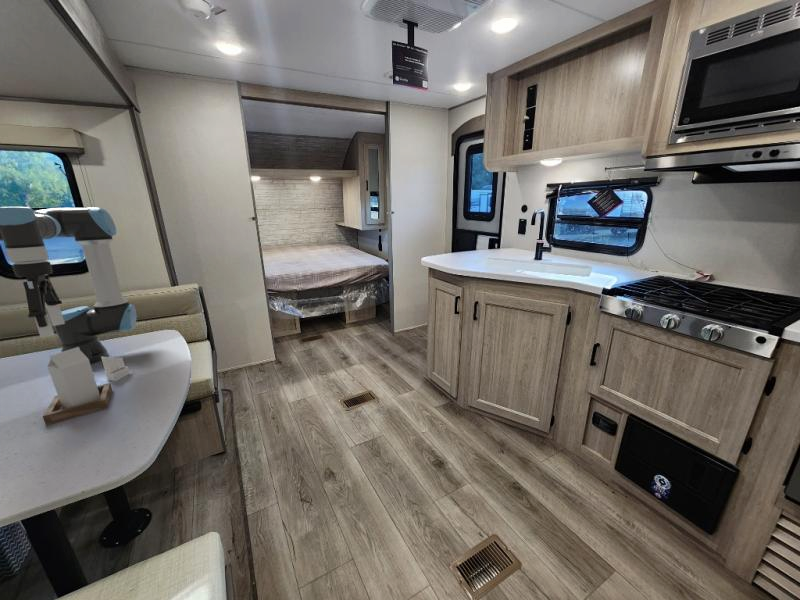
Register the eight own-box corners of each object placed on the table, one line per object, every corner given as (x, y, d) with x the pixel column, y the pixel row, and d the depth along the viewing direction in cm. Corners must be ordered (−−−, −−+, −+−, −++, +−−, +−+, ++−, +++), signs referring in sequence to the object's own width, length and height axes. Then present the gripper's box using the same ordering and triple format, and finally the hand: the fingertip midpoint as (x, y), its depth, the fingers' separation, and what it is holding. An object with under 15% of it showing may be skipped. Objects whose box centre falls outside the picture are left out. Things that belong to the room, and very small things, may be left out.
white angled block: (93, 380, 118) (100, 356, 120) (121, 380, 128) (127, 358, 130) (101, 380, 117) (108, 356, 119) (128, 381, 127) (134, 359, 129)
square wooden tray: (57, 404, 107) (54, 396, 107) (112, 390, 115) (110, 382, 114) (45, 425, 96) (42, 416, 96) (107, 408, 104) (104, 400, 103)
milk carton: (101, 400, 108) (85, 348, 103) (75, 412, 102) (56, 357, 97) (88, 396, 110) (72, 345, 105) (61, 408, 104) (43, 354, 99)
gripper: (25, 259, 101) (47, 322, 106) (-6, 268, 81) (22, 346, 87) (59, 256, 105) (78, 318, 111) (37, 265, 86) (61, 339, 91)
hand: (53, 330), depth 99 cm, fingers open, 13 cm apart
